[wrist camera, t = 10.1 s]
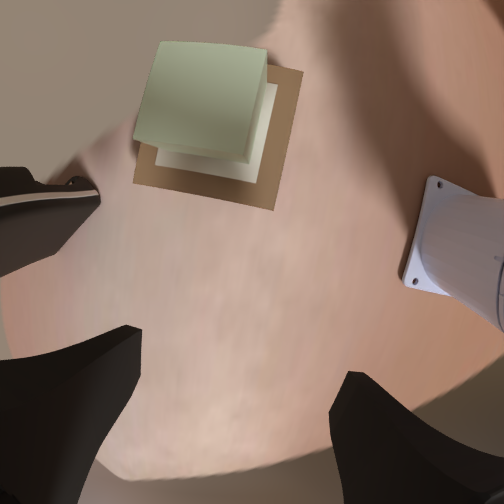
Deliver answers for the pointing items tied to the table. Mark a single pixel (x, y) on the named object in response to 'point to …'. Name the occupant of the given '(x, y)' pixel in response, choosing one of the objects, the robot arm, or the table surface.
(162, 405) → the table surface
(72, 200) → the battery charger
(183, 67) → the cube
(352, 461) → the robot arm
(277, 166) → the base block
